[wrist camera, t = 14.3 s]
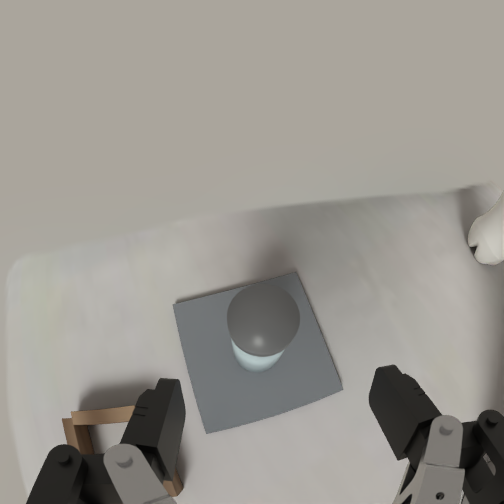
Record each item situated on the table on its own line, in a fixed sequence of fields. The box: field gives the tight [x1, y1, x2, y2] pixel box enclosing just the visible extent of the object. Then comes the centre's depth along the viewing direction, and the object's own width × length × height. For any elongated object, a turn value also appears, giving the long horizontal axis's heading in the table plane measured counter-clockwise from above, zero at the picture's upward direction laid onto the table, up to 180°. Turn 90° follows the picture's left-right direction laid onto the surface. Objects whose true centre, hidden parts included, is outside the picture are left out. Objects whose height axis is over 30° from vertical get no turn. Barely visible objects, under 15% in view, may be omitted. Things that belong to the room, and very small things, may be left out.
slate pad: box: [173, 272, 343, 434], centre depth 23 cm, size 12×12×1 cm
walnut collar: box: [62, 405, 183, 497], centre depth 17 cm, size 9×9×2 cm
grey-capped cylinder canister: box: [227, 284, 300, 372], centre depth 19 cm, size 4×4×8 cm
